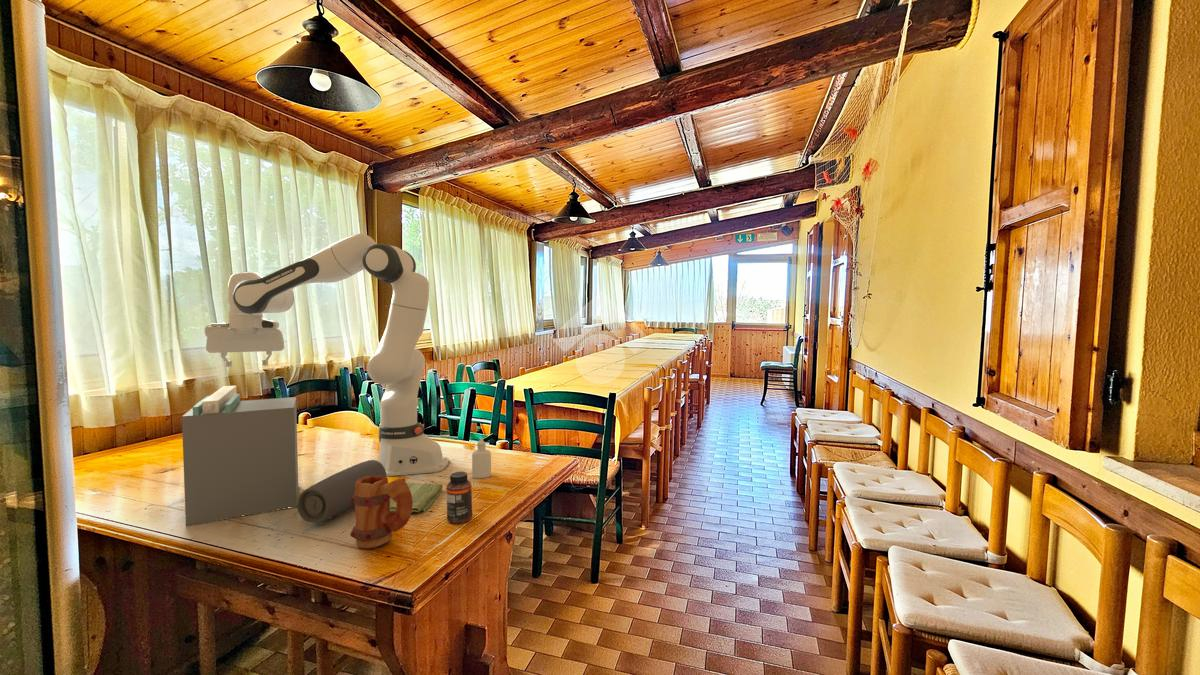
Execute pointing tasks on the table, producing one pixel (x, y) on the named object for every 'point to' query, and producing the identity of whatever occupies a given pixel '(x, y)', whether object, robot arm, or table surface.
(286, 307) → the robot arm
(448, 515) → the supplement bottle
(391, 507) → the washcloth
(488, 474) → the eye dropper bottle
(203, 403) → the bar
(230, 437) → the stand
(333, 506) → the bluetooth speaker
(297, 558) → the table surface
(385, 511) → the mug
